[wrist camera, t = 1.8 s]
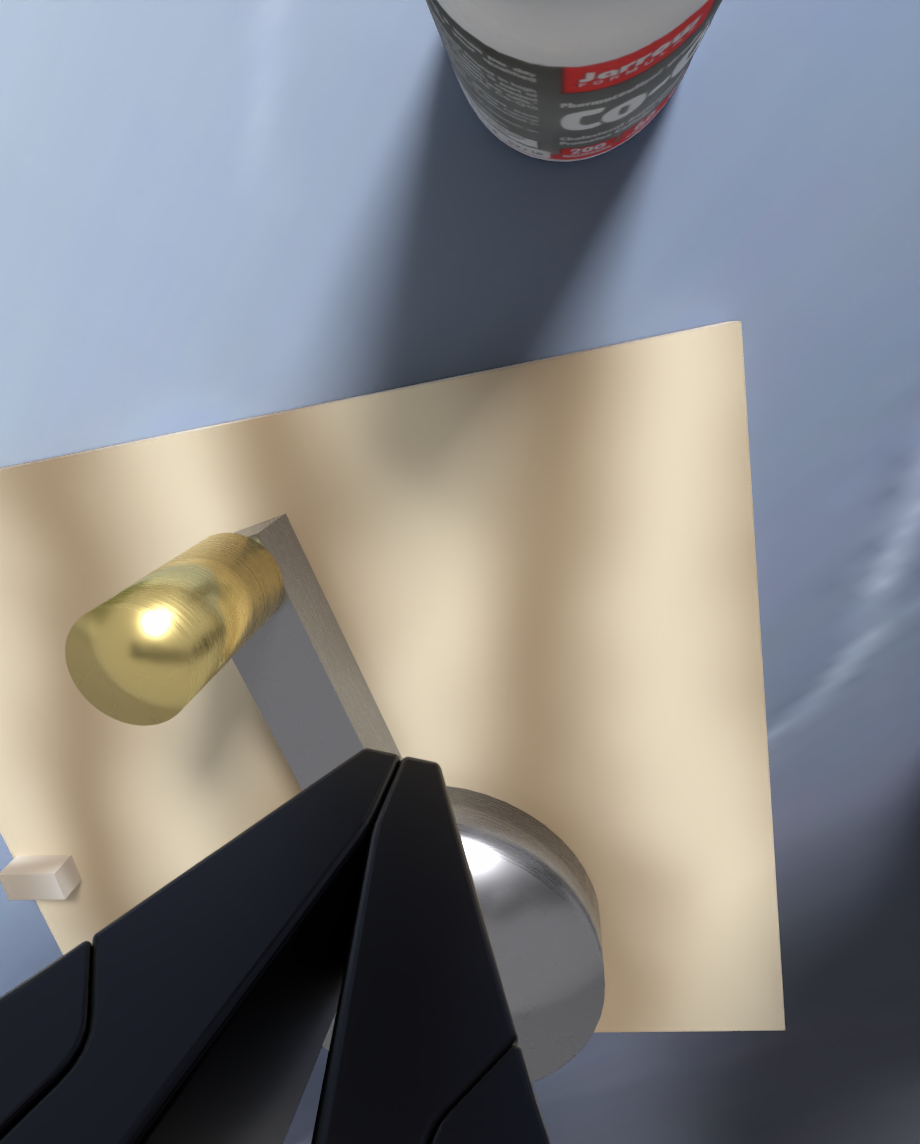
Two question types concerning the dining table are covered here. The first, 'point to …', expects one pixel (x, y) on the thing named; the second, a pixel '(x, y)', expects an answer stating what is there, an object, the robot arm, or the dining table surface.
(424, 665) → the stand board
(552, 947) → the lever
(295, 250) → the dining table surface
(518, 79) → the pill bottle
